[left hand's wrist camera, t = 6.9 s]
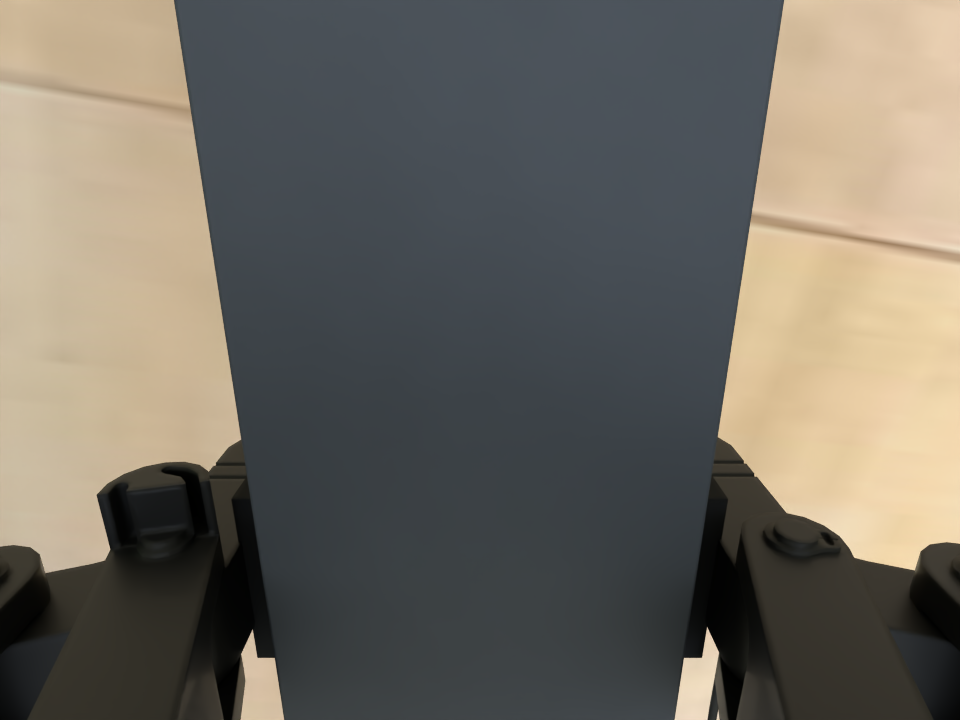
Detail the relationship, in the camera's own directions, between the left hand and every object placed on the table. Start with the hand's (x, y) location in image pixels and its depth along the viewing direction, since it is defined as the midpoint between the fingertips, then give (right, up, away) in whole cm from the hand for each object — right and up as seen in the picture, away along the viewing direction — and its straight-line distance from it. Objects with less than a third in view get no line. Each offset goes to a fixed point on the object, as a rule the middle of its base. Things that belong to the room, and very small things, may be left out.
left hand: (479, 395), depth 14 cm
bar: (0, +28, -10) cm, 30 cm away
